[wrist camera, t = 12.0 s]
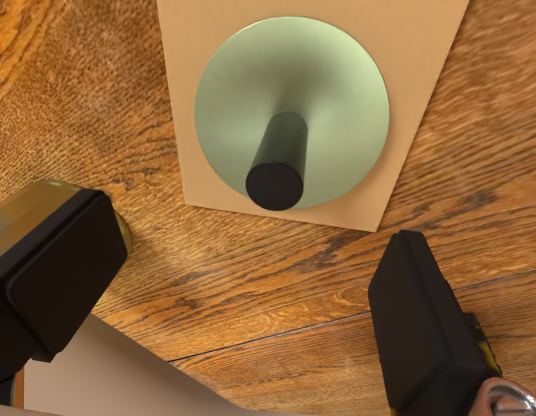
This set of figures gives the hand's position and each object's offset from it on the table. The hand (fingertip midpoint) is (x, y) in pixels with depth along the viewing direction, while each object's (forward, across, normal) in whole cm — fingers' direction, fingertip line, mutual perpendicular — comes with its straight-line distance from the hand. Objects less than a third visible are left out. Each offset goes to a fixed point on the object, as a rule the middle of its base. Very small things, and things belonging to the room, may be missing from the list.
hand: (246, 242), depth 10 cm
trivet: (+12, -1, 0) cm, 12 cm away
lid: (+11, -1, 0) cm, 11 cm away
